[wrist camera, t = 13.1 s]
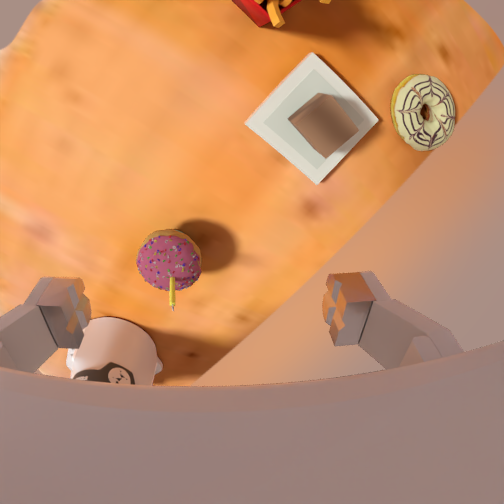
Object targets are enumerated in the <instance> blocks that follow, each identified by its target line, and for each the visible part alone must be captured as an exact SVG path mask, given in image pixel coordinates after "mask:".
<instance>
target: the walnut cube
mask: <svg viewBox="0 0 504 504" xmlns="http://www.w3.org/2000/svg"><path fill="white" fill-rule="evenodd" d="M287 119H288V120H289V121H290V123H291V124H292V125H293V126H294V127H295V128H296V129H297V130H298V131H299V133H300V134H301V135H302V136H303V137H304V138H305V139H306V141H307V142H308V143H309V144H310V145H311V146H312V147H313V149H314V150H316V151H317V152H318V153H319V154H321V155H322V156H323V157H324V158H325V159H326V158H328V157H329V156H330V155H331V154H332V153H333V152H335V151H336V150H337V149H338V148H339V147H341V146H342V145H343V144H344V143H345V142H346V141H348V140H349V139H350V138H351V137H352V136H354V135H355V134H356V133H357V132H358V131H359V129H358V128H357V127H356V125H355V124H354V123H353V121H352V120H351V119H350V118H349V116H348V115H347V114H346V112H345V111H344V110H343V109H342V107H341V106H340V105H339V103H338V102H337V101H336V100H335V99H334V97H333V96H332V95H328V94H323V93H317V94H316V95H315V96H314V97H312V98H311V99H310V100H309V101H307V102H306V103H305V104H304V105H303V106H302V107H300V108H299V109H298V110H297V111H296V112H294V113H293V114H292V115H291V116H290V117H289V118H287Z"/></svg>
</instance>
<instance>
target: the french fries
mask: <svg viewBox="0 0 504 504" xmlns="http://www.w3.org/2000/svg"><path fill="white" fill-rule="evenodd" d="M232 1H233V2H234V3H235V4H236V5H237V6H238V7H239V8H240V9H241V10H242V11H243V12H244V13H245V14H246V15H247V16H248V17H249V18H250V19H251V20H252V21H253V22H254V23H255V24H256V25H257V26H258V27H261V26H263V25H265V24H267V23H269V22H272V24H273V26H274V27H277V28H279V27H281V26H282V25H283V24H284V23H285V22H284V19H283V17H282V15H281V14H282V13H283V12H285V11H286V10H288V9H289V8H291V7H292V6H294V5H295V4H297V3H298V2H300V1H301V0H232ZM319 1H320V2H321V3H326V4H329V3H330V1H331V0H319Z"/></svg>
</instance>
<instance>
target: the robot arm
mask: <svg viewBox="0 0 504 504" xmlns="http://www.w3.org/2000/svg"><path fill="white" fill-rule="evenodd" d="M326 285H327V288H328V292H327V293H326V294H325V295H324V298H323V305H322V306H323V316H324V319H325V322H326V323H327V324H329V325H330V326H331V327H330V331H329V333H330V335H331V338H332V340H333V343H334V346H343V345H354V344H359V346H360V347H361V348H362V349H363V350H365V351H366V352H367V353H368V354H369V355H370V356H372V357H373V358H374V359H375V360H376V361H377V362H378V363H380V364H381V365H382V366H383V367H384V368H385V369H386V370H381V371H375V372H369V373H363V374H357V375H350V376H343V377H336V378H328V379H320V380H312V381H311V380H310V381H300V382H289V383H276V384H262V385H240V386H202V387H201V386H200V387H198V386H152V384H153V380H154V375H155V374H157V373H159V372H160V371H162V368H163V364H162V362H161V361H160V359H159V358H158V356H157V351H156V346H155V344H154V342H153V340H152V339H151V337H150V336H149V335H148V334H147V333H146V332H145V331H144V330H142V329H141V328H140V327H138V326H136V325H135V324H133V323H130V322H128V321H125V320H122V319H118V318H113V317H101V318H96V319H92V320H90V318H91V307H90V302H89V299H88V298H87V297H86V296H85V295H84V294H83V292H84V290H85V286H84V284H83V281H82V279H80V278H75V277H42V278H41V279H40V280H39V282H38V283H37V285H36V286H35V288H34V289H33V291H32V292H31V294H30V295H29V297H28V298H27V300H26V301H25V303H24V304H23V305H18V306H17V307H15V308H14V309H12V310H11V311H9V312H8V313H6V314H4V315H3V316H1V317H0V504H504V340H503V341H500V342H497V343H494V344H490V345H487V346H484V347H480V348H477V349H473V350H470V351H466V352H464V351H463V349H462V348H461V346H460V345H459V343H458V342H457V340H456V339H455V337H454V336H453V335H452V333H451V332H450V330H449V329H447V328H445V327H443V326H442V325H440V324H438V323H436V322H435V321H433V320H431V319H429V318H428V317H426V316H424V315H422V314H421V313H419V312H417V311H415V310H414V309H412V308H410V307H408V306H407V305H405V304H403V303H401V302H399V301H397V300H396V299H391V298H390V296H389V295H388V293H387V292H386V290H385V289H384V288H383V286H382V284H381V283H380V282H379V280H378V279H377V277H376V276H375V274H374V273H373V272H372V271H365V272H356V273H339V274H338V273H337V274H329V276H328V278H327V282H326ZM58 348H68V355H67V361H66V365H67V367H68V368H69V369H70V370H71V377H70V379H69V378H62V377H55V376H48V375H42V374H35V373H34V372H35V371H36V370H37V369H38V368H39V367H40V366H41V365H42V364H43V363H44V362H45V361H46V360H47V359H48V358H49V357H50V356H51V355H52V354H53V353H54V352H55V351H56V350H57V349H58Z"/></svg>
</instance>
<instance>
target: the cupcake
mask: <svg viewBox="0 0 504 504" xmlns="http://www.w3.org/2000/svg"><path fill="white" fill-rule="evenodd" d="M136 263H137V266H138V270H139V271H140V272H139V273H140V274H142V276H143V277H144V278H145V280H146V281H147V282H149V283H150V284H151V285H152V286H153V287H155V288H159V289H160V290H162V289H163V290H166V291H170V306H172V310H173V311H174V306H175V290H178V291H180V290H182V289H184V288H186V287H187V288H188V287H189V286H191V285H193V283H195V281H198V278H199V276H200V274H201V269H200V268H201V264H202V258H201V252H200V249H199V247H198V246H197V245H196V244H195V242H194V241H192V240H191V238H190V237H189V236H188V235H186V234H184V233H183V232H181V231H178V230H173V229H166V230H159V231H155V232H153V233H151V234H150V235H149V236H148V237H147V238H146V239H145V240H144V242H143V243H142V245H141V247H140V249H139V250H138V253H137V258H136Z"/></svg>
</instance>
